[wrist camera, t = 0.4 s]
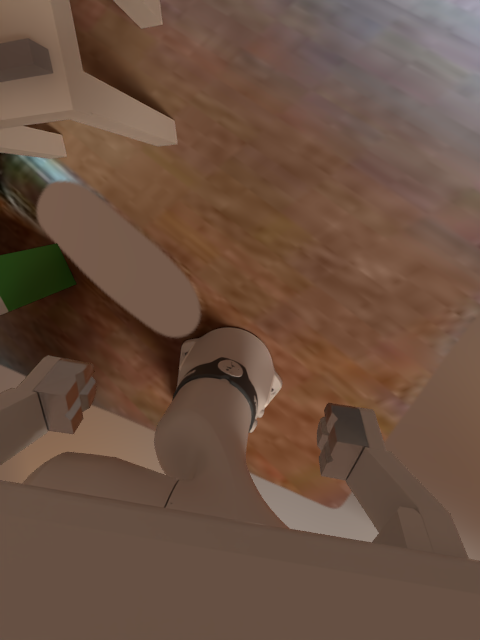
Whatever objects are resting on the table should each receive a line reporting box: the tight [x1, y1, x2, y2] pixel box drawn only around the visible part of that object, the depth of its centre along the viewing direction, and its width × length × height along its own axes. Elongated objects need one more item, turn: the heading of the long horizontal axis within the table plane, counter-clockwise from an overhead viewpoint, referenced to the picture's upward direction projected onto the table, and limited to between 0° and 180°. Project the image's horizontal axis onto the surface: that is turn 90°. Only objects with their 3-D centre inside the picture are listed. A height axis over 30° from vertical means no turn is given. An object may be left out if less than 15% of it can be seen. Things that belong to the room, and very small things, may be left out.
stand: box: [0, 0, 177, 159], centre depth 36 cm, size 22×18×27 cm
